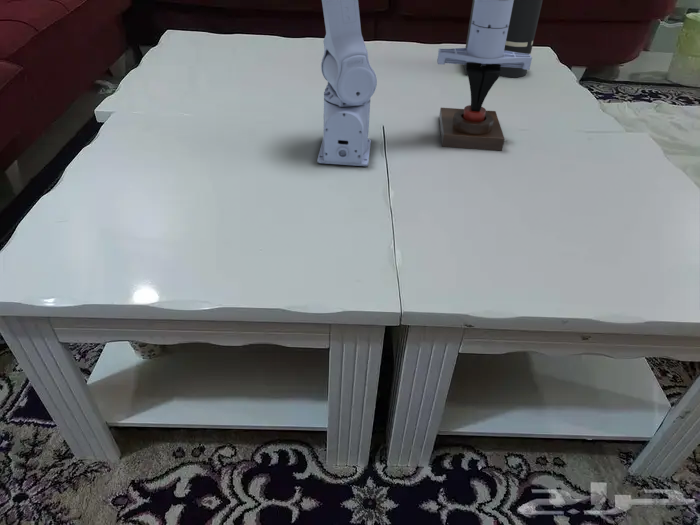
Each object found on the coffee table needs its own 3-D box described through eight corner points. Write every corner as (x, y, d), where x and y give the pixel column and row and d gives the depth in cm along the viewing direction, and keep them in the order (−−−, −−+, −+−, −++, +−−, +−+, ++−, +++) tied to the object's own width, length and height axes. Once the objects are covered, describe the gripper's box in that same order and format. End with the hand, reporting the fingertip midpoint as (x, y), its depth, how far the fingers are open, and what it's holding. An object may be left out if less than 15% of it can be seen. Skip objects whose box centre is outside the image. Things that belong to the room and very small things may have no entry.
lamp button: (485, 123, 96) (487, 113, 94) (463, 122, 96) (465, 112, 95) (482, 115, 98) (484, 105, 97) (461, 114, 99) (463, 104, 98)
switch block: (502, 150, 96) (506, 128, 93) (442, 146, 96) (445, 124, 94) (493, 122, 105) (497, 101, 103) (438, 118, 106) (441, 97, 103)
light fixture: (529, 80, 125) (549, -9, 114) (466, 75, 126) (480, -13, 115) (522, 65, 133) (541, -19, 122) (463, 61, 134) (476, -23, 123)
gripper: (533, 19, 91) (515, 102, 99) (441, 14, 91) (431, 97, 100) (541, 31, 85) (521, 118, 93) (443, 26, 86) (432, 113, 94)
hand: (475, 108), depth 96 cm, fingers closed
